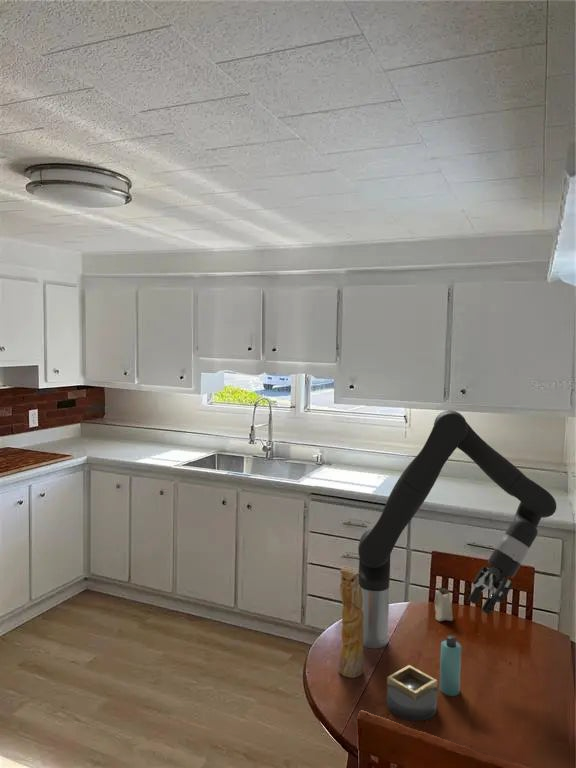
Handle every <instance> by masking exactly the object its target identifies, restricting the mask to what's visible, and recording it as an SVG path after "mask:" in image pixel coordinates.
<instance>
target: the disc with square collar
mask: <svg viewBox="0 0 576 768" xmlns="http://www.w3.org/2000/svg"><path fill="white" fill-rule="evenodd" d="M437 699H438V680H437V679H436V678H434V677H433V676H430V675H429V674H427V673H424V672H423V671H421V670H419V669H418V668H416V667H414V666H412V665H410V664H408V665H406V666H405V667H403V668H401V669H399V670H397V671H396V672H394V673H392V674H390V675H388V676H387V677H386V706H387V708H388V710H389V711H390V712H391V713H392V714H394V715H396V716H397V717H399V718H401V719H404V720H408V721H412V722H413V721H414V722H422V721H427V720H430V719H431V718H432V717H434V716H435V715H436V713H437V702H438V701H437Z"/></svg>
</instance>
